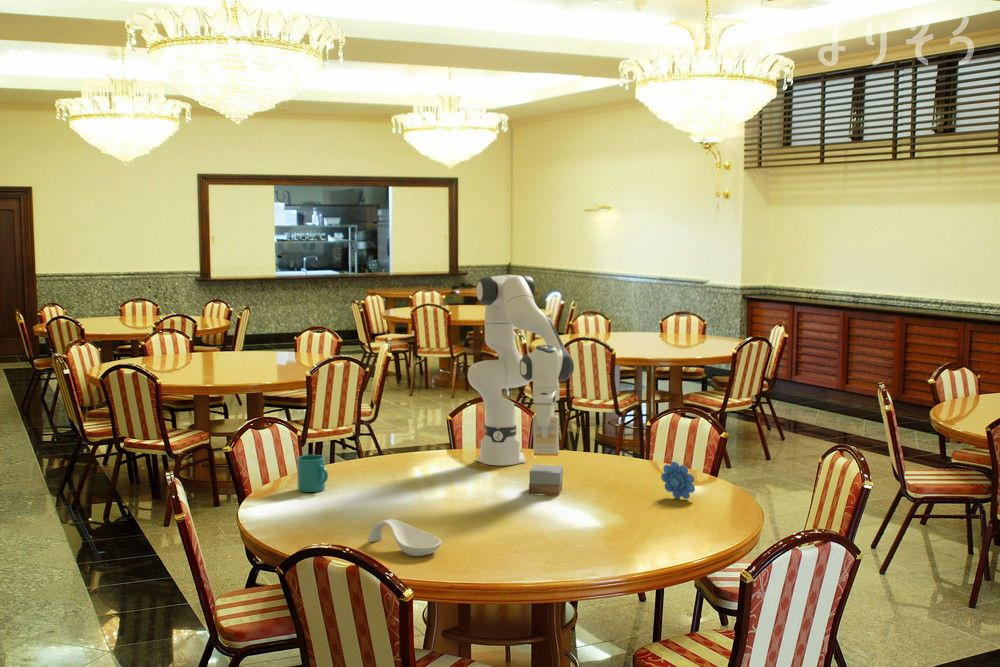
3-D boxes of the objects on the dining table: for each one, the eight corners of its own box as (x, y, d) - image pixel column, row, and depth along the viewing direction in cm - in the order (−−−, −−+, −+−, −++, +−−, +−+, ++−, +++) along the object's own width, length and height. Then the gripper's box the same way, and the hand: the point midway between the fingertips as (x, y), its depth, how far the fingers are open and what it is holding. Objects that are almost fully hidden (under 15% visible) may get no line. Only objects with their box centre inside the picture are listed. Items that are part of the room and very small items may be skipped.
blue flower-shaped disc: (655, 498, 325) (656, 462, 324) (663, 494, 331) (664, 458, 330) (689, 503, 319) (690, 466, 318) (697, 499, 324) (697, 462, 323)
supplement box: (559, 453, 336) (559, 414, 335) (557, 456, 331) (557, 417, 330) (534, 452, 337) (534, 414, 336) (532, 455, 333) (532, 416, 331)
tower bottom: (533, 488, 341) (533, 476, 341) (562, 489, 339) (562, 477, 339) (529, 495, 331) (529, 483, 331) (559, 496, 330) (559, 484, 329)
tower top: (533, 476, 341) (533, 465, 340) (562, 477, 339) (562, 466, 339) (529, 483, 331) (529, 471, 330) (559, 484, 329) (559, 472, 329)
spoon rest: (450, 552, 271) (449, 526, 270) (420, 563, 262) (419, 537, 261) (387, 536, 285) (387, 512, 285) (357, 546, 276) (357, 521, 276)
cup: (317, 496, 330) (316, 462, 329) (292, 491, 337) (291, 458, 336) (337, 490, 337) (336, 457, 336) (311, 485, 344) (311, 453, 343)
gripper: (540, 389, 343) (540, 429, 344) (532, 399, 323) (532, 441, 324) (558, 389, 342) (558, 429, 343) (552, 399, 322) (552, 441, 323)
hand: (545, 435), depth 334 cm, fingers closed on supplement box, 5 cm apart
